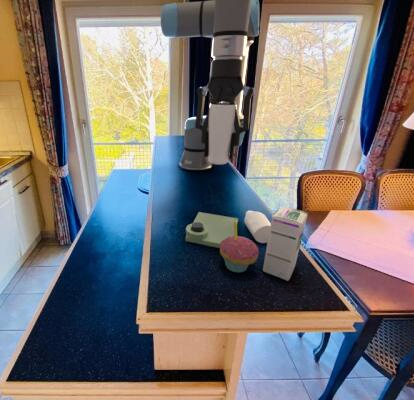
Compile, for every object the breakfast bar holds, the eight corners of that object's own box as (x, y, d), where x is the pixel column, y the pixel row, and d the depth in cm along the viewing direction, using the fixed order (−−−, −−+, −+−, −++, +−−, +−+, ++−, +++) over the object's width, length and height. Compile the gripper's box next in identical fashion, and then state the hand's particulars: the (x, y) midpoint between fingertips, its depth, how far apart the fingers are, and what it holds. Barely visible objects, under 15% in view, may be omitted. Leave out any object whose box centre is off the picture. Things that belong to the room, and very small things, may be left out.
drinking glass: (204, 165, 69) (208, 104, 63) (206, 158, 75) (210, 102, 69) (230, 167, 68) (237, 105, 61) (230, 159, 74) (237, 102, 67)
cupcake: (210, 265, 62) (214, 221, 56) (230, 250, 67) (236, 208, 62) (243, 284, 56) (252, 236, 51) (262, 265, 61) (271, 221, 56)
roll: (258, 220, 81) (260, 203, 78) (274, 243, 70) (278, 224, 67) (238, 220, 80) (240, 204, 78) (252, 243, 70) (255, 225, 67)
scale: (197, 215, 84) (197, 207, 82) (237, 222, 79) (238, 213, 78) (183, 241, 71) (183, 232, 69) (230, 251, 66) (232, 241, 65)
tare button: (193, 226, 73) (193, 221, 72) (203, 228, 72) (204, 223, 71) (190, 231, 70) (190, 226, 69) (201, 233, 69) (201, 228, 68)
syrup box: (288, 282, 57) (304, 223, 50) (260, 271, 60) (272, 215, 54) (294, 267, 61) (309, 212, 54) (268, 258, 64) (279, 204, 58)
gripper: (183, 59, 61) (180, 156, 71) (271, 56, 55) (254, 164, 65) (192, 60, 67) (188, 150, 77) (271, 58, 61) (256, 156, 71)
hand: (218, 156), depth 71 cm, fingers closed on drinking glass, 6 cm apart
